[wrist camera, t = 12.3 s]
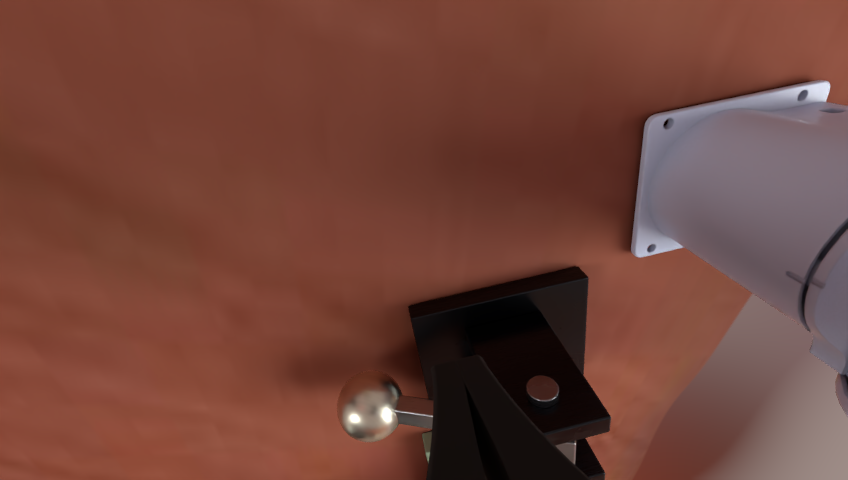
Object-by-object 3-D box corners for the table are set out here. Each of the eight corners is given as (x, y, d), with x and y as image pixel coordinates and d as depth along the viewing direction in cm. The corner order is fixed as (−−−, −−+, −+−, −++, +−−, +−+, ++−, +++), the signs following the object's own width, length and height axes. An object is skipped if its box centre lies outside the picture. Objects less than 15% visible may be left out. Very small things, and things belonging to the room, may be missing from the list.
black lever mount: (429, 400, 27) (459, 542, 19) (407, 305, 23) (436, 438, 15) (574, 364, 27) (656, 488, 20) (578, 265, 23) (681, 375, 16)
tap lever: (361, 395, 25) (335, 450, 22) (347, 353, 23) (316, 407, 20) (572, 425, 21) (574, 496, 18) (574, 377, 19) (577, 447, 17)
